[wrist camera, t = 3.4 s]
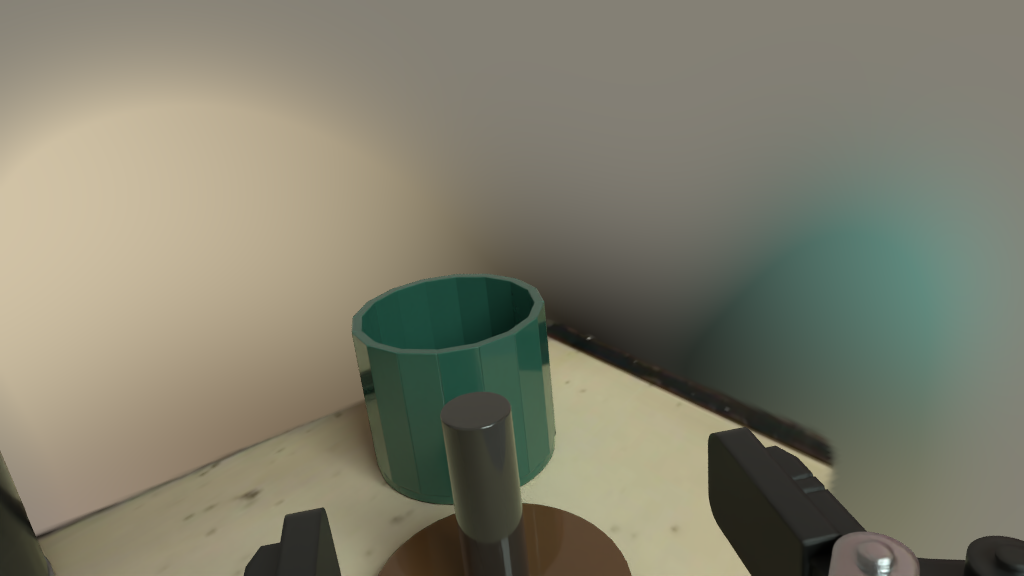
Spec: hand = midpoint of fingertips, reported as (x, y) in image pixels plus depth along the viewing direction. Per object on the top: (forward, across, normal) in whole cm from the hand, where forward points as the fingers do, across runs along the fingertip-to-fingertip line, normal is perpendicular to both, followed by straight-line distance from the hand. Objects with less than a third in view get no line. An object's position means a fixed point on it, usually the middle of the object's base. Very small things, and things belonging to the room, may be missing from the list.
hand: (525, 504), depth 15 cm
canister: (+23, 0, +14) cm, 27 cm away
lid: (+11, 0, +13) cm, 17 cm away
